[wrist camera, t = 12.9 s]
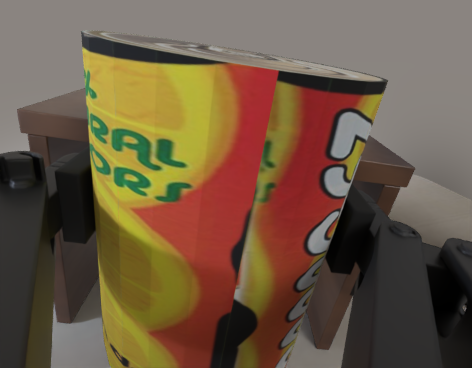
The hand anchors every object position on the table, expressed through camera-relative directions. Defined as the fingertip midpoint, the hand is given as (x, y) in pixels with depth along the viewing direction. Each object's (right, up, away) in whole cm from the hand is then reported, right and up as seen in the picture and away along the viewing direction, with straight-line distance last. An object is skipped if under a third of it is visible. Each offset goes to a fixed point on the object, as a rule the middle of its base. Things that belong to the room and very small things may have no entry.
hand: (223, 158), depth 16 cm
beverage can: (-1, -8, -1) cm, 8 cm away
